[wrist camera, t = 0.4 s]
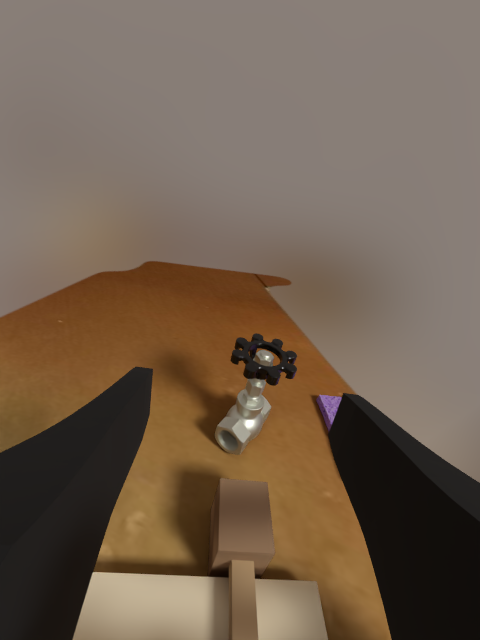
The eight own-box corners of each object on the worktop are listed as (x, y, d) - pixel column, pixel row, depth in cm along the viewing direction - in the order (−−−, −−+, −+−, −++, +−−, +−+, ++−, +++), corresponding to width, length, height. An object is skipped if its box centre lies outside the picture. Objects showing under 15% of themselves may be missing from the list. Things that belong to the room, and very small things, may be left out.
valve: (200, 435, 33) (218, 352, 27) (232, 402, 38) (253, 325, 32) (250, 471, 31) (281, 389, 25) (277, 431, 36) (308, 354, 30)
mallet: (270, 765, 16) (297, 758, 14) (198, 768, 16) (212, 761, 13) (253, 512, 27) (267, 482, 25) (210, 509, 27) (220, 478, 24)
